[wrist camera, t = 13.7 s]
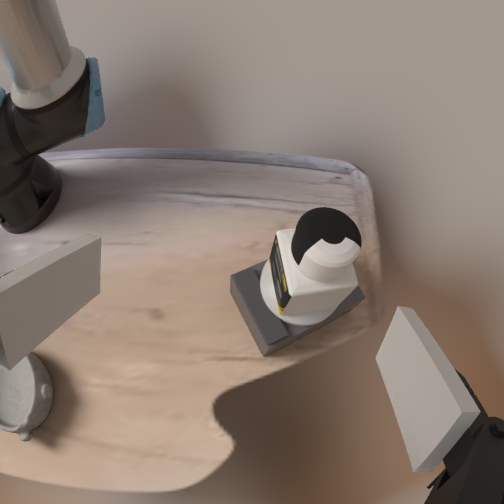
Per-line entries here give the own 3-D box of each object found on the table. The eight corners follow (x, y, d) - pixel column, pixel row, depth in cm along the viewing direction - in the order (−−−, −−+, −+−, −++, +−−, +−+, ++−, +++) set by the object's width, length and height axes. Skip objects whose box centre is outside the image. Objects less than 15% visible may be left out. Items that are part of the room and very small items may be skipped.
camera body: (230, 292, 44) (230, 270, 38) (315, 254, 48) (328, 228, 41) (263, 356, 41) (270, 346, 34) (349, 311, 44) (369, 293, 38)
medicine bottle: (268, 259, 39) (283, 200, 28) (323, 253, 40) (355, 195, 29) (279, 316, 36) (301, 275, 25) (338, 307, 36) (380, 264, 26)
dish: (-21, 382, 33) (-40, 377, 29) (21, 327, 39) (4, 318, 34) (26, 454, 30) (8, 456, 26) (74, 398, 36) (58, 396, 31)
